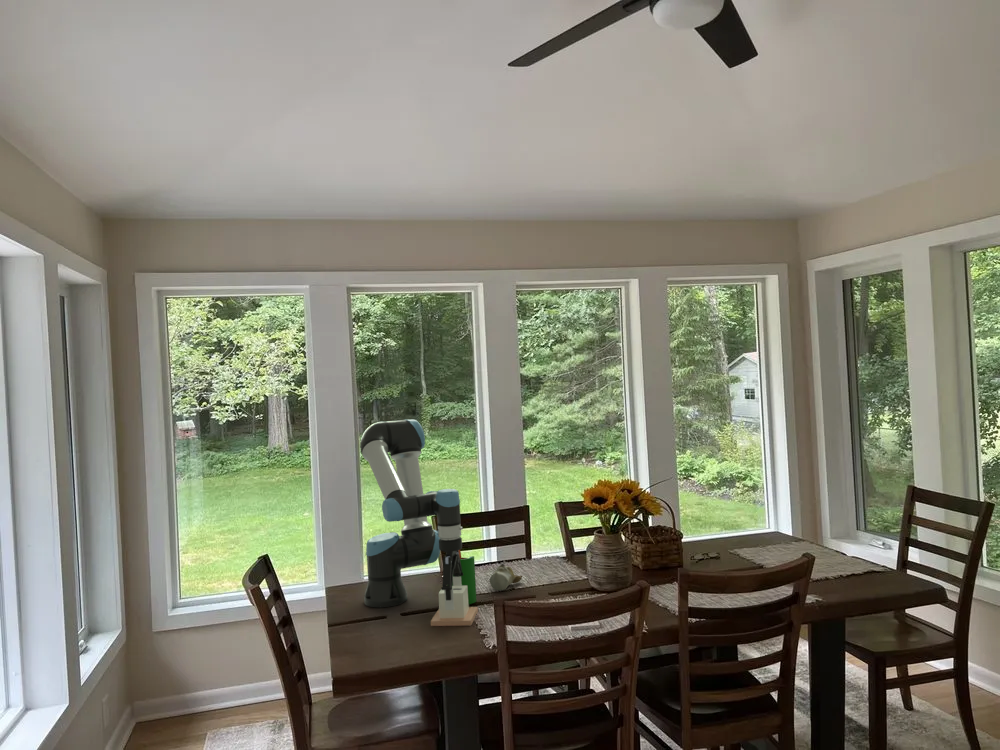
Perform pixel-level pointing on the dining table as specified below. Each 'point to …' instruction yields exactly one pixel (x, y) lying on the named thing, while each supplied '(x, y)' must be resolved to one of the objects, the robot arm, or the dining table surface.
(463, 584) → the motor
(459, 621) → the base
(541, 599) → the dining table surface
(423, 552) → the robot arm
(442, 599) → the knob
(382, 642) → the dining table surface
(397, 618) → the dining table surface
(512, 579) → the ceramic sculpture
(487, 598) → the dining table surface
